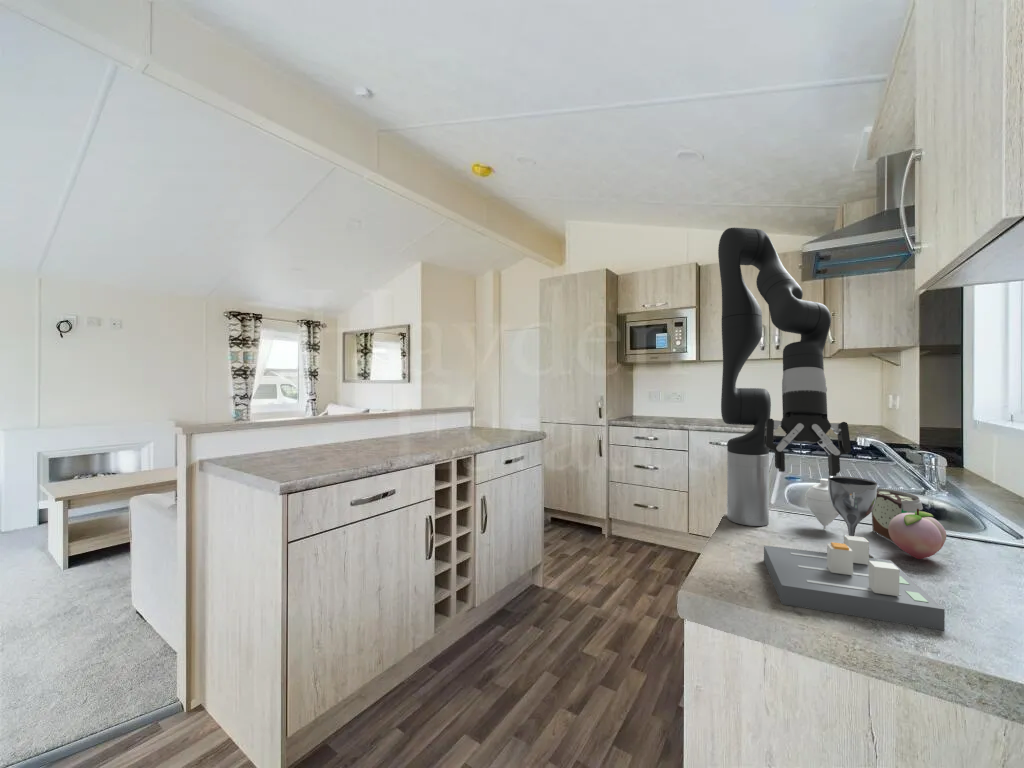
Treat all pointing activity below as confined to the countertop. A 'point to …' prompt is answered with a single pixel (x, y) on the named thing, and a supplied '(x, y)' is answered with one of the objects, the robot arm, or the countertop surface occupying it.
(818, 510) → the spinning top
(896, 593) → the breaker
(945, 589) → the countertop surface
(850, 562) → the block
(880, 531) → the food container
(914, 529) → the decorative fruit
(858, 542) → the block
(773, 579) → the grey flat slab
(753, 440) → the robot arm
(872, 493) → the wine glass
